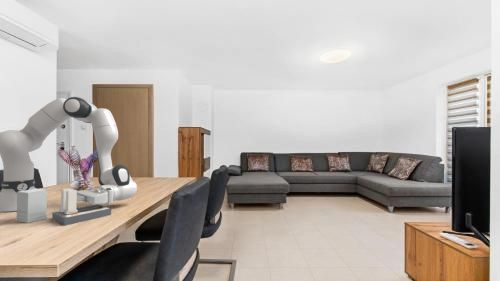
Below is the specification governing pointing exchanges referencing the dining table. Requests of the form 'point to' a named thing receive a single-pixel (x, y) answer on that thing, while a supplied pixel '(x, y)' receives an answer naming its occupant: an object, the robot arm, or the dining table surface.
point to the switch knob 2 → (71, 202)
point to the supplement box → (31, 205)
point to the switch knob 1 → (63, 199)
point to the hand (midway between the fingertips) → (70, 199)
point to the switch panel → (81, 214)
